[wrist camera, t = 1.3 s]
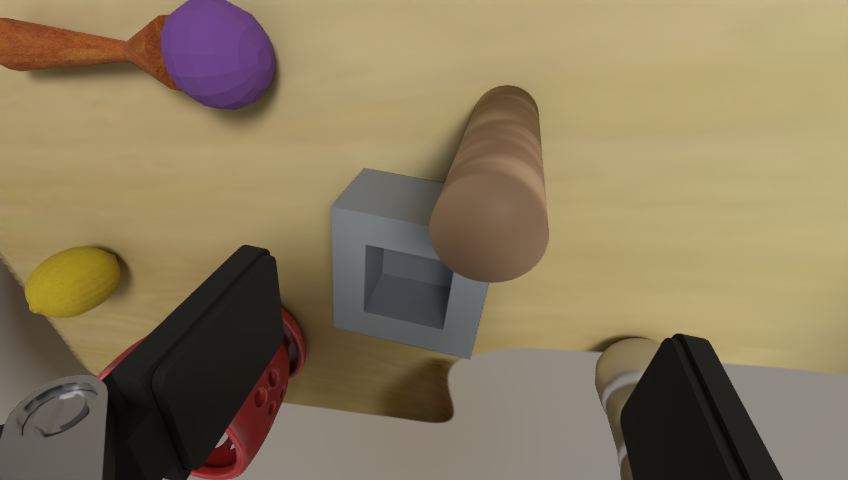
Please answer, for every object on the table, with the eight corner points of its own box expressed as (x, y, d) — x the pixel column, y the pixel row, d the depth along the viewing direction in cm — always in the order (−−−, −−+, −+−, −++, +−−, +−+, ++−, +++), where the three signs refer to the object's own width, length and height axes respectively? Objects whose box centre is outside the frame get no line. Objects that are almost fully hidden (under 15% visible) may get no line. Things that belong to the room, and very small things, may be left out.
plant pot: (276, 261, 36) (180, 369, 26) (337, 366, 42) (278, 487, 32) (168, 280, 40) (50, 379, 30) (237, 373, 46) (157, 481, 36)
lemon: (144, 285, 41) (71, 343, 35) (94, 268, 42) (12, 322, 35) (135, 241, 38) (53, 296, 32) (81, 223, 39) (-12, 274, 32)
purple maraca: (-62, -15, 25) (220, -12, 20) (47, 3, 30) (290, 8, 25) (-27, 91, 27) (234, 116, 22) (69, 90, 32) (296, 109, 27)
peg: (546, 90, 24) (564, 193, 13) (529, 155, 26) (531, 292, 15) (479, 80, 25) (436, 169, 13) (468, 144, 27) (423, 269, 15)
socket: (504, 194, 28) (499, 240, 23) (478, 303, 34) (470, 359, 29) (364, 168, 29) (330, 206, 24) (361, 277, 35) (333, 327, 30)
